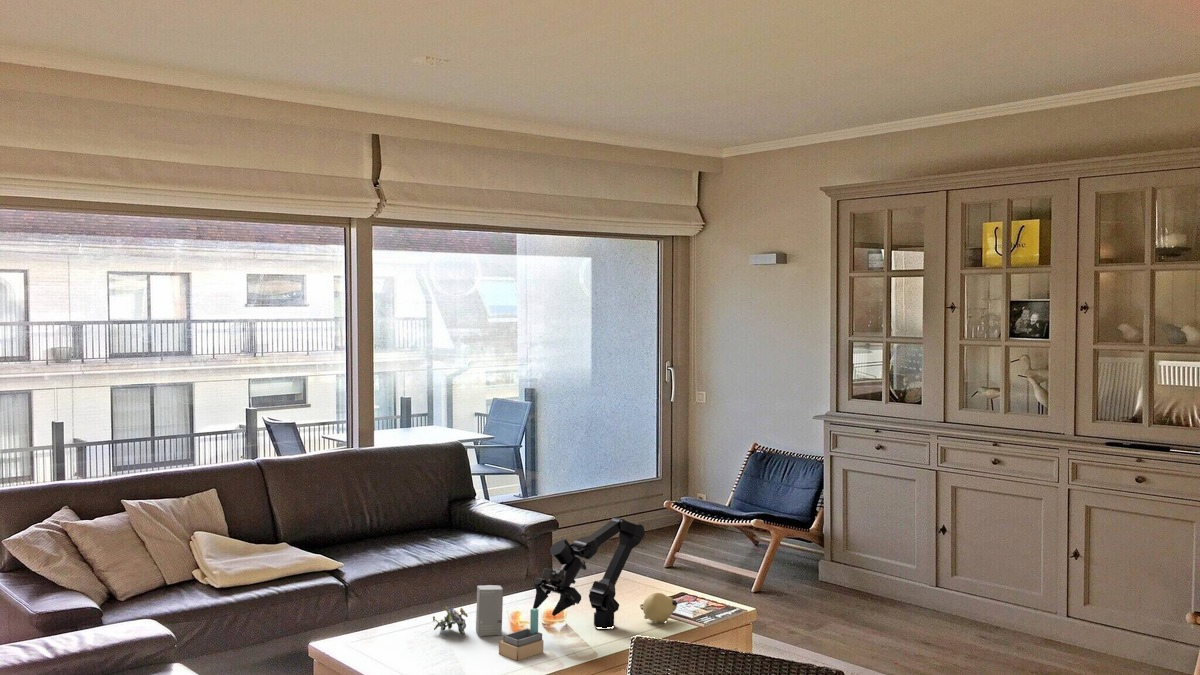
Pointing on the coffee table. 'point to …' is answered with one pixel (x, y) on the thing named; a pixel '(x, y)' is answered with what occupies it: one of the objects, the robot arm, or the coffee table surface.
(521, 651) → the tan open box
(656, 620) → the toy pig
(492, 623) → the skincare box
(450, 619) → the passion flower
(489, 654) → the coffee table surface
